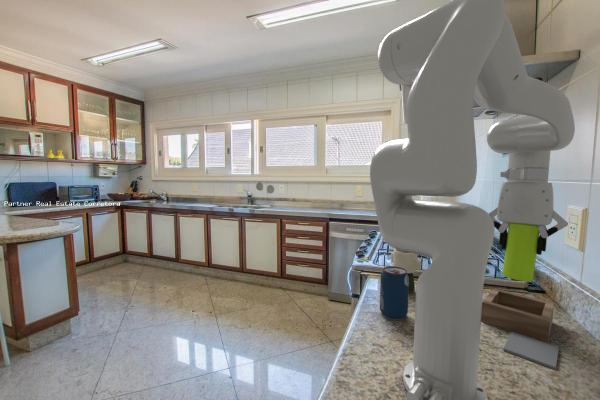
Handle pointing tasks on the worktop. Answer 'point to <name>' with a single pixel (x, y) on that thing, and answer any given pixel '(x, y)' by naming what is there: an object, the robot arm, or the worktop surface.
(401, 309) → the soda can
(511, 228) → the soap dispenser
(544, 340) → the walnut stand
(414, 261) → the character mug
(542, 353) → the rubber mat
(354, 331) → the worktop surface
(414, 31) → the robot arm
